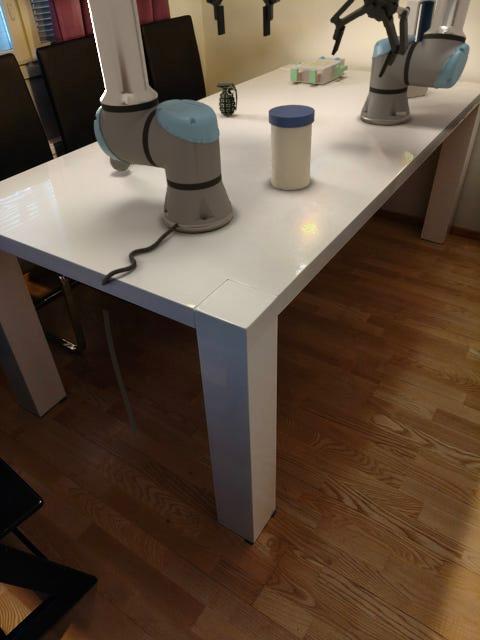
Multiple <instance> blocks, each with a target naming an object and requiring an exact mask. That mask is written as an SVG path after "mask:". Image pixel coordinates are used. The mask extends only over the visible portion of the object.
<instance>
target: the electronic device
mask: <svg viewBox="0 0 480 640" xmlns="http://www.w3.org/2000/svg"><path fill="white" fill-rule="evenodd" d="M436 5H437V0H407V1H406V7H410V12H409V15H408V35H414V36H415V37H416V40H415V42H422V40H423V36H424V33H425V32H427V31H428V30H429V29H430V28H431V26H432V21H433V17H434V13H435V9H436ZM418 21H419V22H418ZM428 91H429V87H418V86H408V89H407V97H408V98H415V97H422V96H425V95H426V94H427V93H428Z"/></svg>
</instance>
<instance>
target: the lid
mask: <svg viewBox="0 0 480 640" xmlns="http://www.w3.org/2000/svg"><path fill="white" fill-rule="evenodd" d="M315 116H316V109H314V107H311V106H309V105H304V104H285V105H278V106H274V107H272V108H270V109H269V110H268V123H269V125H270V126H271V125H273V126H277V127H284V128H295V127H303V126H307V125H310V124H312V125H313V123H314V122H315Z"/></svg>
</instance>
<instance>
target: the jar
mask: <svg viewBox="0 0 480 640" xmlns="http://www.w3.org/2000/svg"><path fill="white" fill-rule="evenodd" d="M312 133H313V123H312V124H310V125H307V126H303V127H295V128H284V127H277V126H273V125H271V124H270V156H271V157H270V175H271V176H270V178H271V179H270V180H271V182H270V183H271V185H272V186H273V187H274V188H276V189H279V190H284V191H295V190H296V191H297V190H302V189H304V188H306V187H308V186H309V185H310V183H311V161H312V159H311V157H312V136H313V135H312Z"/></svg>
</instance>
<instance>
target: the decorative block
mask: <svg viewBox="0 0 480 640" xmlns="http://www.w3.org/2000/svg"><path fill="white" fill-rule="evenodd" d="M345 60H346V59H345V58H340V57H325V56H320V57H317V58H314V59H312V58H311V59H309V60H305V61H304V62H301V61H296V62H295V65H293V66H292V67H291V68H290V82H294V83H302V84H303V83H305V84H313V85H325V84H327V83H330V82H332V81H334V80H336V79H338V78H340V77H342V75H343V74H344V72H345V71H347V70H348V67H349V65H345V63H346V62H345Z"/></svg>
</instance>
